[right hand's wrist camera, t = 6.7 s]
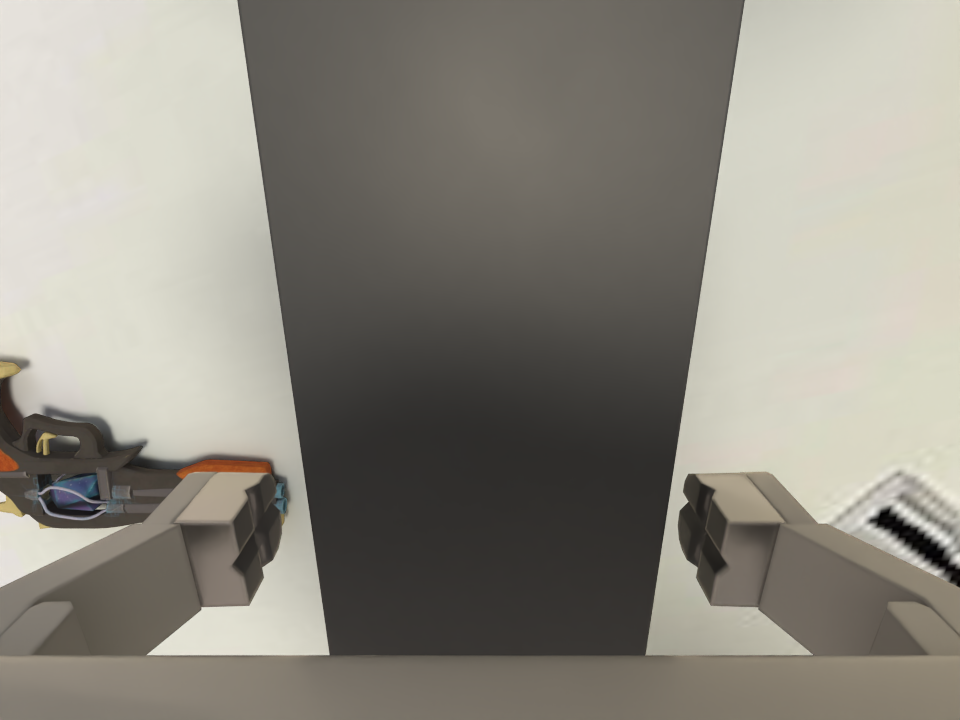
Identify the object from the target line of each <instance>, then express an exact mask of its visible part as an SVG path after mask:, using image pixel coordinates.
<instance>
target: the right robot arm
mask: <svg viewBox="0 0 960 720" xmlns="http://www.w3.org/2000/svg"><path fill="white" fill-rule="evenodd" d="M276 493H277V489H276V484H275V480H274V477H273V476H272V475H271V474H270V473H241V472H219V473H218V472H193V473H190V474H188V475H187V476H186V477H185V478H184V479H183V480H182V481H181V482H180V483H179V484H178V485H177V486H176V488H175V489H174V490H173V491H172V492H171V493H170V494H169V495H168V496H167V497H166V498H165V499H164V500H163V502H162V503H161V504H160V505H159V506H158V507H157V508H156V509H155V510H154V511H153V512H152V513H151V514H150V515H149V517H148V518H147V519H146V520H145V521H144V522H143V523H142V524H132V525H130V526H128V527H126V528H124V529H121V530H119V531H117V532H115V533H113V534H111V535H109V536H107V537H105V538H103V539H101V540H99V541H96V542H94V543H92V544H90V545H88V546H86V547H84V548H82V549H80V550H78V551H76V552H74V553H71V554H69V555H67V556H65V557H63V558H61V559H59V560H57V561H55V562H53V563H51V564H49V565H47V566H44V567H42V568H40V569H38V570H36V571H34V572H32V573H30V574H28V575H26V576H24V577H22V578H19V579H17V580H15V581H13V582H11V583H9V584H7V585H5V586H3V587H1V588H0V720H960V588H959V587H957V586H955V585H953V584H951V583H949V582H946V581H944V580H942V579H940V578H938V577H936V576H934V575H932V574H930V573H928V572H926V571H924V570H922V569H919V568H917V567H915V566H913V565H911V564H909V563H907V562H905V561H903V560H901V559H899V558H897V557H895V556H892V555H890V554H888V553H886V552H884V551H882V550H880V549H878V548H876V547H874V546H872V545H870V544H868V543H866V542H863V541H861V540H859V539H857V538H855V537H853V536H851V535H849V534H847V533H845V532H843V531H841V530H839V529H836V528H834V527H832V526H830V525H828V524H818V523H817V522H816V521H815V520H814V519H813V518H812V517H811V515H810V514H809V513H808V512H807V511H806V510H805V509H804V508H803V507H802V506H801V505H800V504H799V503H798V501H797V500H796V499H795V498H794V497H793V496H792V495H791V494H790V493H789V492H788V491H787V490H786V489H785V487H784V486H783V485H782V484H781V483H780V482H779V481H778V480H777V479H776V478H775V477H774V476H773V475H772V474H770V473H768V472H740V473H707V474H688V476H687V478H686V480H685V483H684V489H683V493H684V494H685V496H686V498H687V500H688V501H689V502H688V503H687V504H686V505H685V506H684V507H683V508H682V509H681V510H680V513H679V520H678V533H679V541H680V544H681V548H682V551H683V553H684V555H685V557H686V559H687V560H688V561H689V562H691V563H692V564H694V565H695V566H697V567H698V570H697V576H696V578H697V580H698V582H699V584H700V586H701V588H702V590H703V592H704V594H705V596H706V597H707V599H708V601H709V603H710V605H711V606H738V607H759V610H760V611H761V612H762V613H763V614H765V615H766V616H767V617H768V618H770V619H771V620H772V621H773V622H774V623H776V624H777V625H778V626H779V627H781V628H782V629H783V630H784V631H785V632H787V633H788V634H789V635H790V636H791V637H793V638H794V639H795V640H796V641H798V642H799V643H800V644H801V645H802V646H804V647H805V648H806V649H807V650H809V651H810V652H811V653H812V654H813V655H655V656H468V655H179V656H163V655H147V654H148V653H149V652H150V651H152V650H153V649H154V648H155V647H157V646H158V645H159V644H160V643H161V642H163V641H164V640H165V639H166V638H167V637H169V636H170V635H171V634H172V633H174V632H175V631H176V630H177V629H178V628H180V627H181V626H182V625H183V624H185V623H186V622H187V621H188V620H189V619H191V618H192V617H193V616H194V615H196V614H197V613H198V612H199V611H200V610H201V607H221V606H249V605H250V603H251V601H252V599H253V598H254V596H255V594H256V592H257V590H258V588H259V586H260V584H261V582H262V580H263V578H264V576H263V570H262V567H263V566H265V565H266V564H268V563H269V562H271V561H272V560H273V559H274V557H275V555H276V553H277V550H278V548H279V544H280V539H281V535H282V519H281V512H280V510H279V509H278V508H277V507H276V506H275V505H274V504H273V503H272V502H271V501H272V500H273V498H274V496H275V494H276Z"/></svg>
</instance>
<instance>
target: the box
mask: <svg viewBox="0 0 960 720" xmlns="http://www.w3.org/2000/svg"><path fill="white" fill-rule="evenodd" d="M744 1H745V0H238V7H239V15H240V22H241V29H242V36H243V43H244V50H245V57H246V64H247V71H248V78H249V85H250V93H251V100H252V107H253V114H254V121H255V128H256V135H257V142H258V149H259V156H260V163H261V171H262V178H263V185H264V192H265V199H266V206H267V213H268V220H269V227H270V234H271V241H272V249H273V256H274V263H275V270H276V277H277V284H278V291H279V298H280V305H281V312H282V319H283V327H284V334H285V341H286V348H287V355H288V362H289V369H290V376H291V383H292V390H293V397H294V405H295V412H296V419H297V426H298V433H299V440H300V447H301V454H302V461H303V468H304V475H305V483H306V490H307V497H308V504H309V511H310V518H311V525H312V532H313V539H314V546H315V553H316V561H317V568H318V575H319V582H320V589H321V596H322V603H323V610H324V617H325V624H326V631H327V639H328V646H329V653H330V655H468V656H645V654H646V647H647V641H648V634H649V628H650V621H651V614H652V608H653V601H654V595H655V588H656V581H657V575H658V568H659V562H660V555H661V548H662V542H663V535H664V529H665V522H666V515H667V509H668V502H669V496H670V489H671V482H672V476H673V469H674V463H675V456H676V450H677V443H678V436H679V430H680V423H681V417H682V410H683V403H684V397H685V390H686V384H687V377H688V370H689V364H690V357H691V351H692V344H693V337H694V331H695V324H696V318H697V311H698V304H699V298H700V291H701V285H702V278H703V271H704V265H705V258H706V252H707V245H708V238H709V232H710V225H711V219H712V212H713V206H714V199H715V192H716V186H717V179H718V173H719V166H720V159H721V153H722V146H723V140H724V133H725V126H726V120H727V113H728V107H729V100H730V93H731V87H732V80H733V74H734V67H735V60H736V54H737V47H738V41H739V34H740V27H741V21H742V14H743V8H744Z"/></svg>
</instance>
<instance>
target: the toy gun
mask: <svg viewBox="0 0 960 720" xmlns="http://www.w3.org/2000/svg"><path fill="white" fill-rule="evenodd" d="M20 370H21V369H20V368H19V367H18V366H17V365H16V364H14V363H9V362H0V394H1V384H2V382H3V380H4V379H5V378H6V377H9V376H12V375H15V374H17V373H19V372H20ZM37 429H38V430H42V431H46V432H44V433H43V434H42V435H41V437H40V439H39V440H38V442H37V446H36V440H35V434H36V431H37ZM57 434H58V435H63V436H75V437H78V438H79V440H80V448H79V450H78V452H60V451H49V439H50V438H55V437H57V436H58V435H57ZM42 440H43V449H42V448H41V446H42ZM141 449H142V446H138V447H134V448H131V449H127V450H122V451H114V452H108V451H107V450H106V449H105V448H104V440H103V436H102V434H101V432H100V431H99V430H98V428H97V427H96V426H94V425H93V424H90V423H75V422H66V421H61V420H56V419H53V418H50V417H46V416H43V415H40V414H32V415H30V416H28V417H26V418H24V419H23V432H22V436H20V434H19V433H18V432H17V431H16V430H15V428H14V427H13V425H12V424H11V423H10V421H9V420H8V418H7V416H6V415H5V413H4V411H3V409H2V406H1V396H0V491H1V492H2V493H4V494H5V495H6V501H5V502H1V503H0V511H1V512H7V513H13V514H15V515H16V516H19V517H22V516H24V515H25V514H28V515H30V516H31V517H32V518H34V519H35V520H36V521H37V522H39V527H40V529H42V528H50V527H52V528H110V527H118V526H124V525H130V524H135V523H143V522H144V521H145V520H146V519H147V518H148V517H149V515H150V514H151V513H152V512H153V511H154V510H155V509H156V508H157V507H158V506H159V505H160V504H161V503H162V502H163V500H164V499H165V498H166V497H167V496H168V495H169V494H170V493H171V492H172V491H173V490H174V489H175V488H176V486H177V485H178V484H179V483H180V482H181V481H182V480H183V479H184V478H185V477H186V476H187V475H188V474H190V473H193V472H218V473H219V472H241V473H270V474H271V466H270V464H269V463H268V462H254V461H234V460H212V459H210V460H204V461H201V462H198V463H196V464H193V465H190V466H188V467H185V468H182V469H179V470H165V469H148V468H143V467H138V466H134V465H131V464H129V463H128V462H130V461H131V460H132V459H134V458H135V457H136V456H137V454H138V453H139V452H140V451H141ZM51 474H62V475H61V476H59V477H58V478H57V479H56V481H55V482H54V481H52V478H51ZM67 474H79V475H76V476H73V477H70V478H67V479H65V480H62V481H59V480H60V479H61V478H62V477H64V476H65V475H67ZM58 481H59V482H58ZM275 484H276V489H277V493H276V494H275V496H274V498H273V500H272V501H271V502H272V503H273V504H274V505H275V506H276V507H277V508H278V509H279V510H280V512H281V519H282V525H283V523H284V514H285V512H286V508H287V499H286V497H283V496H284V492H285V484H284V483H279V480H275ZM106 500H108V501H106ZM102 503H108V504H107V507H106V509H103V510H95V509H96V508H97V507H99V506H100V505H101V504H102Z"/></svg>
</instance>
